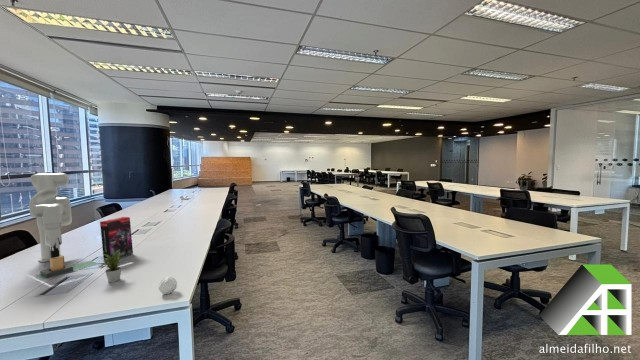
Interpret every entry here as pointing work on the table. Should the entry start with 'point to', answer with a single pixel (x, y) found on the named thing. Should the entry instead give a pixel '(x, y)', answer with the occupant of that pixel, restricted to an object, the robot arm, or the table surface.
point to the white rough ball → (167, 285)
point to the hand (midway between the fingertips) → (55, 256)
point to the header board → (76, 267)
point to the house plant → (112, 267)
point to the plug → (57, 263)
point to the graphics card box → (116, 237)
